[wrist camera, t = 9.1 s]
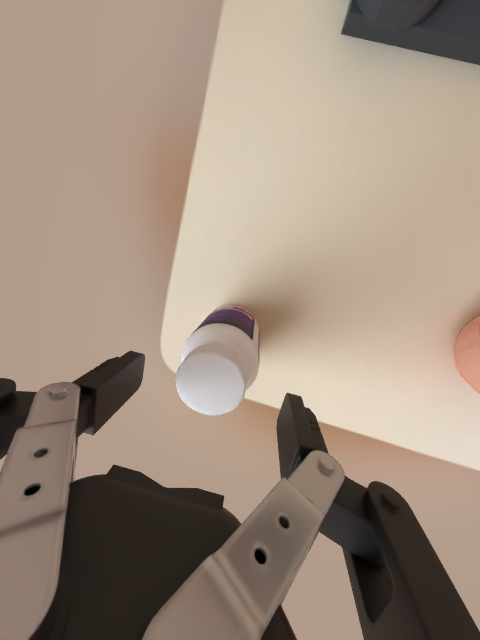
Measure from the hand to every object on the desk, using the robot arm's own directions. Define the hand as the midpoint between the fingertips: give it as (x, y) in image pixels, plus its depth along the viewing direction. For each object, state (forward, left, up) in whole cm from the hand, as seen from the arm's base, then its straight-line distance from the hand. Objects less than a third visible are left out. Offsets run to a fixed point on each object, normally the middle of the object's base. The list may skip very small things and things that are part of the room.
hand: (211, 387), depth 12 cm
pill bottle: (0, 0, -10) cm, 10 cm away
